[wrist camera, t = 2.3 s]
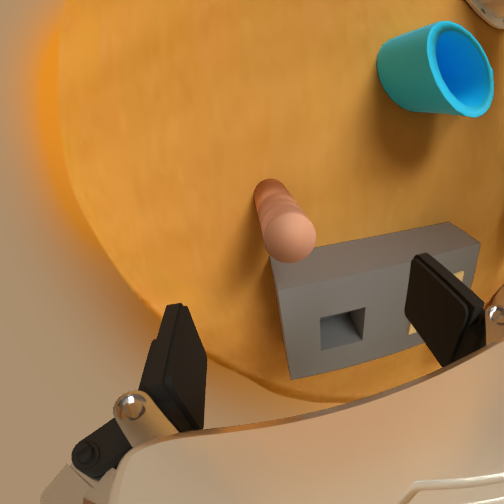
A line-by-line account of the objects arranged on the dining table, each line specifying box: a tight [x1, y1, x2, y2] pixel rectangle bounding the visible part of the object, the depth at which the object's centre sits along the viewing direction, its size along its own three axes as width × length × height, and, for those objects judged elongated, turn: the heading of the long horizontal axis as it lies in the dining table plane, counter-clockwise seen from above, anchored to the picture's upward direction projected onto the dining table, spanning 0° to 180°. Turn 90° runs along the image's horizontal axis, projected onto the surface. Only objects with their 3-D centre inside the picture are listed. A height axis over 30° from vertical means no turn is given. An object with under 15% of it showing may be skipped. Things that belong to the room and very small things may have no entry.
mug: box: [377, 21, 494, 117], centre depth 16 cm, size 12×8×8 cm
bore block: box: [270, 222, 481, 380], centre depth 27 cm, size 22×12×6 cm, turn 100°
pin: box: [254, 179, 316, 263], centre depth 20 cm, size 3×3×10 cm
